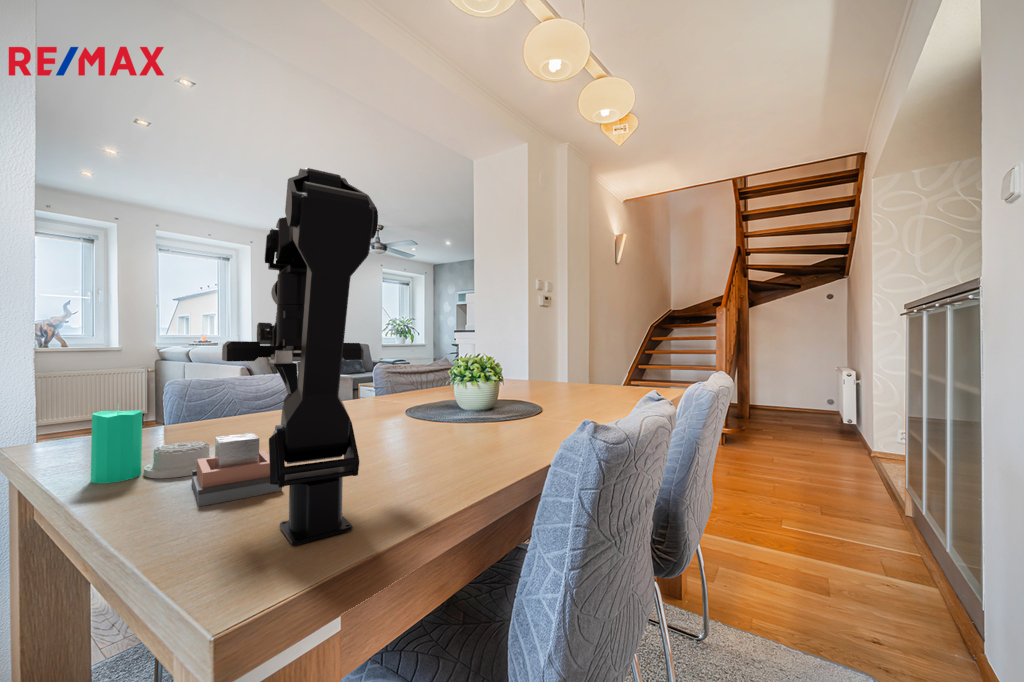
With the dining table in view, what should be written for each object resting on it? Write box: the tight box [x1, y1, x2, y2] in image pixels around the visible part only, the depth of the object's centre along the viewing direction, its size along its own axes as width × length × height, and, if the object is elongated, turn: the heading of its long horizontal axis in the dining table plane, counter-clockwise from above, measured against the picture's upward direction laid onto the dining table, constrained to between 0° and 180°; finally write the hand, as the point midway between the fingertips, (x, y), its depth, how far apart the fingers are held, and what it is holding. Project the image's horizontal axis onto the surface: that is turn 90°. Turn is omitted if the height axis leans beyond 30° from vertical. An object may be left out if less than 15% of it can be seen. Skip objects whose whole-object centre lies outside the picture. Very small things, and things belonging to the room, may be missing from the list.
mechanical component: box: [143, 441, 214, 479], centre depth 73 cm, size 10×4×10 cm
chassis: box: [191, 450, 283, 507], centre depth 64 cm, size 12×10×4 cm
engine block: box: [214, 432, 260, 469], centre depth 65 cm, size 5×5×6 cm
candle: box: [90, 402, 143, 484], centre depth 68 cm, size 6×6×12 cm
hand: (296, 407), depth 65 cm, fingers closed
